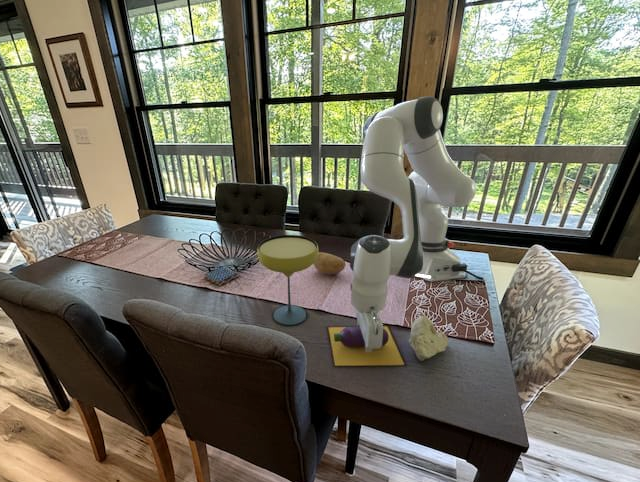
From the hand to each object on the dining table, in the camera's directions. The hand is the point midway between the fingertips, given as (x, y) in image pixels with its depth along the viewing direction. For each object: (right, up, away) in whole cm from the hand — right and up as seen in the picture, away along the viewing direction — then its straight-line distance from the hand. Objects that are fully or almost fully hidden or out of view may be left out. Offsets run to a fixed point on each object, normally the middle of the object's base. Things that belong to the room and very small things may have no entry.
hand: (364, 338), depth 88 cm
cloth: (0, -2, +1) cm, 2 cm away
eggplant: (0, -2, +1) cm, 2 cm away
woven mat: (-48, +16, +40) cm, 65 cm away
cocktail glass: (-21, +4, +15) cm, 26 cm away
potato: (-4, +18, +40) cm, 44 cm away
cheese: (+16, -4, -4) cm, 17 cm away
